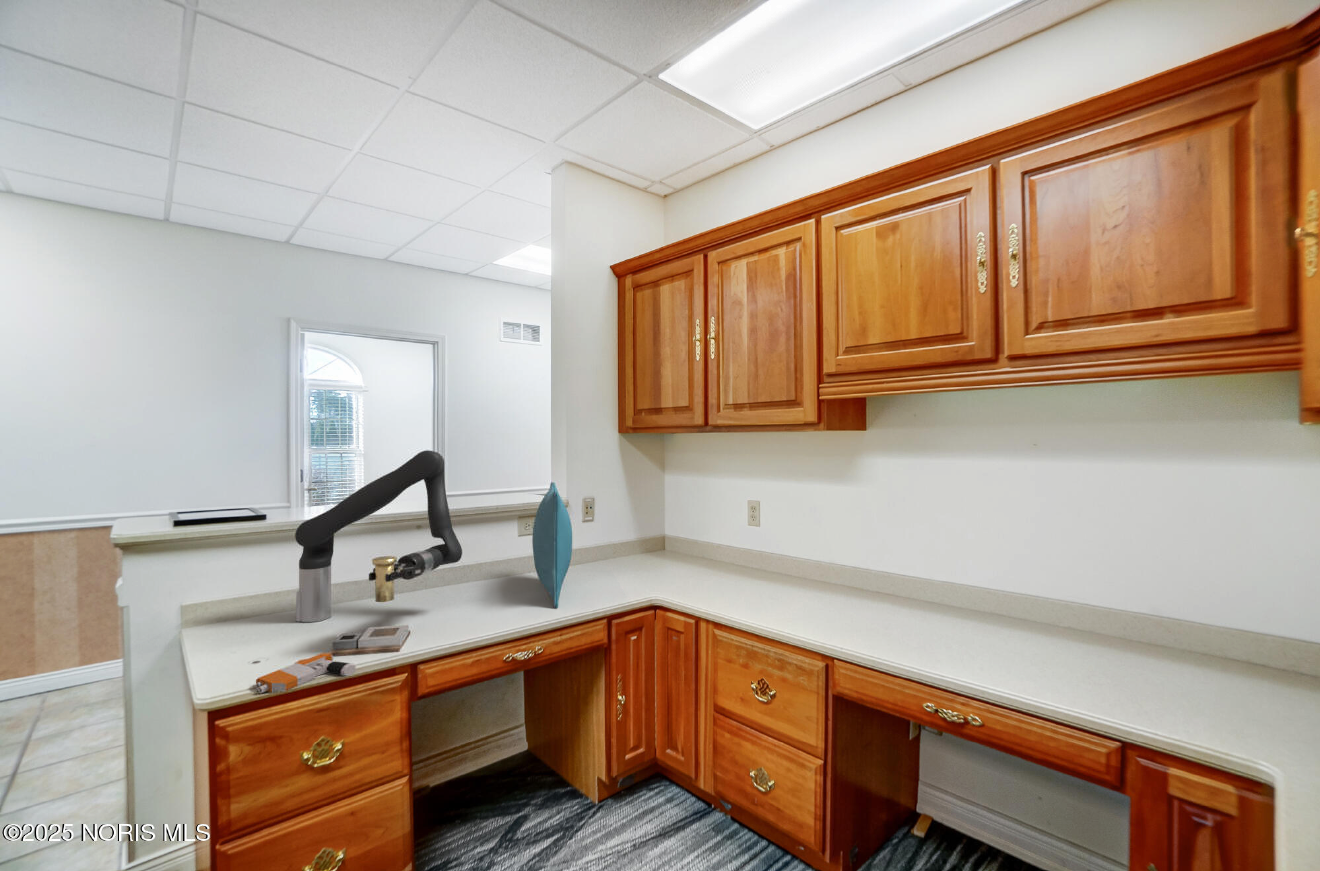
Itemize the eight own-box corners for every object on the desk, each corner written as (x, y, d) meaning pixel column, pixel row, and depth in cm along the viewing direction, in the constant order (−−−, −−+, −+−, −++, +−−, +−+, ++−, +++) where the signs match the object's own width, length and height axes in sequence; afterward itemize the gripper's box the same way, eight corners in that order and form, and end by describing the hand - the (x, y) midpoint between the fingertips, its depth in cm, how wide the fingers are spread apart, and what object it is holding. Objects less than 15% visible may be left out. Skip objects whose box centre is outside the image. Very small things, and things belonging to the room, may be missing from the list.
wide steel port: (358, 649, 162) (358, 640, 162) (369, 635, 173) (369, 627, 173) (400, 646, 164) (400, 637, 164) (408, 633, 175) (408, 624, 175)
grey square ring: (332, 650, 160) (332, 641, 160) (339, 643, 166) (339, 634, 166) (356, 649, 162) (356, 640, 162) (362, 641, 168) (362, 633, 168)
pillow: (532, 580, 244) (533, 481, 244) (568, 578, 247) (569, 481, 247) (531, 610, 202) (532, 491, 202) (575, 607, 205) (575, 490, 205)
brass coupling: (369, 603, 165) (369, 561, 165) (375, 597, 171) (375, 556, 171) (394, 601, 166) (393, 560, 166) (399, 595, 172) (398, 555, 172)
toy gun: (358, 660, 149) (320, 648, 156) (282, 691, 132) (244, 677, 139) (358, 673, 149) (320, 661, 156) (282, 705, 132) (244, 691, 139)
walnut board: (328, 656, 159) (328, 652, 159) (346, 637, 174) (346, 634, 174) (399, 651, 163) (399, 648, 163) (410, 633, 177) (410, 630, 177)
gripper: (395, 551, 184) (356, 563, 167) (435, 553, 181) (400, 565, 164) (395, 575, 184) (356, 589, 167) (435, 577, 181) (400, 592, 164)
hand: (378, 577), depth 166 cm, fingers closed on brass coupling, 5 cm apart
